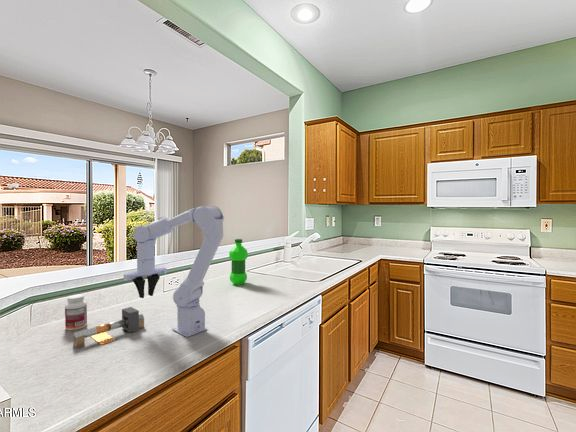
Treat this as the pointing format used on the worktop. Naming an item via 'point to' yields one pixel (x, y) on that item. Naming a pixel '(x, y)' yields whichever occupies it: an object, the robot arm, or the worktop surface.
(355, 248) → the worktop surface
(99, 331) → the rail
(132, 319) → the collar
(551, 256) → the worktop surface
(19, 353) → the worktop surface
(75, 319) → the pill bottle
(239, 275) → the plastic bottle
